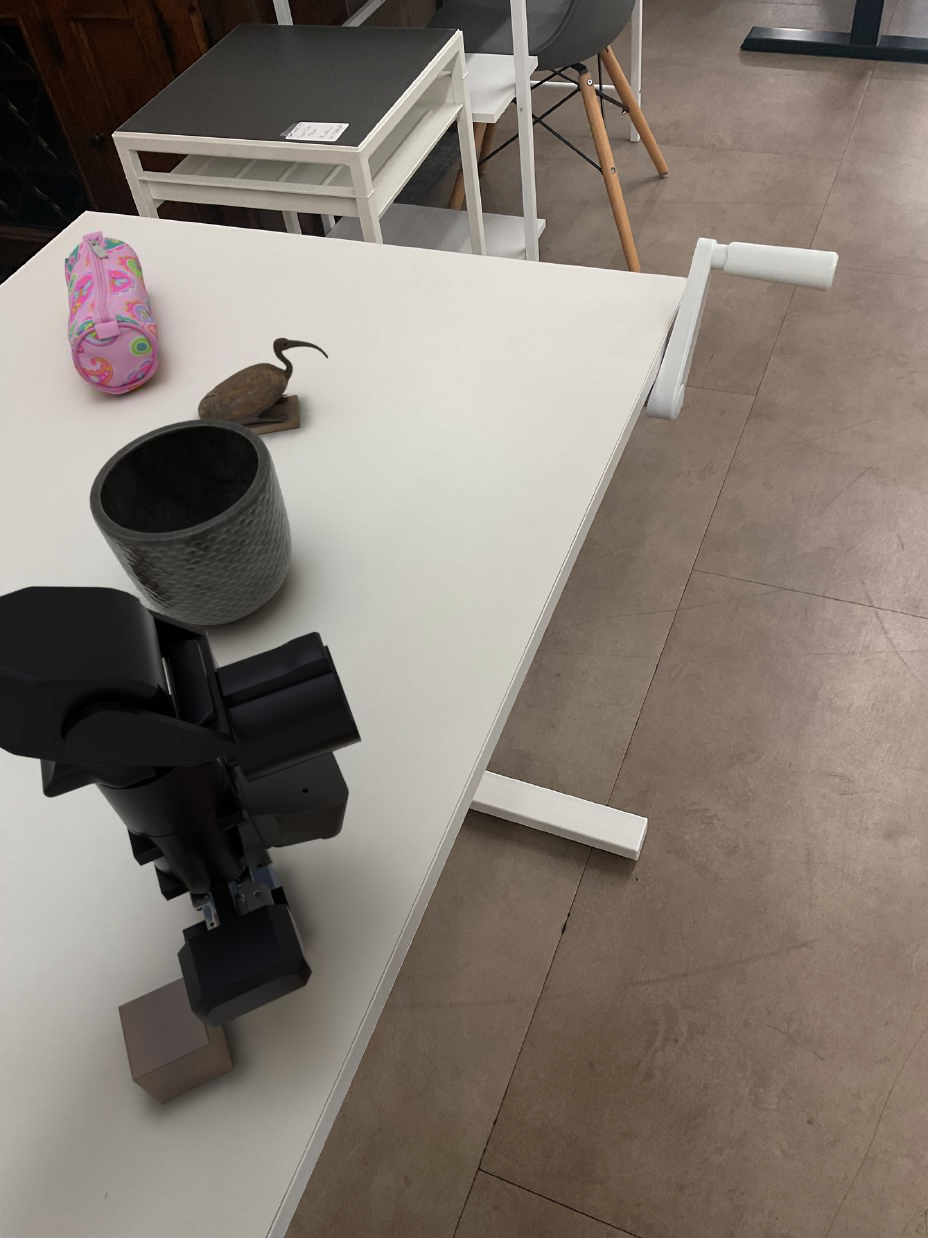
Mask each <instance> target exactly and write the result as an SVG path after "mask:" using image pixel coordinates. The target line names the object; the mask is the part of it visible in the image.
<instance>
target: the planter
mask: <svg viewBox="0 0 928 1238" xmlns="http://www.w3.org/2000/svg"><path fill="white" fill-rule="evenodd" d="M280 485H281V484H280V481H279V478H278V473H277V471H276V467H275V464H274V460H273V457H272V455H271V452H270V450H269V448H268V447H267V445H266V443H265V441H264V440H263V439H262V438H261V437H260V436H259V434H256V433H254V432H253V431H252V430H250V429H249V428H247V427H244V426H242V425H240V424H237V423H233V422H230V421H223V420H216V419H200V418H199V419H190V420H184V421H178V422H174V423H170V424H167V425H164V426H161V427H159V428H155V429H153V430H151V431H149V432H146V433H144V434H142V435H140V436H138V437H137V438H135V439H133V440H132V441H129V442H128V443H127V444H125V445H124V446H123V447H121V448H120V449H118V450H117V451H116V452H115V453H114V454H113V455H111V457H110V458H109V459H108V460H107V461H106V462H105V463H104V465H102V467H101V468H100V469H99V471H98V473H97V474H96V475H95V478H94V480H93V483H92V485H91V487H90V493H89V509H90V512H91V515H92V518H93V522H94V523H95V525H96V527H97V528H98V530H99V531H100V534H101V535H102V537H103V538H104V540H105V542H106V544H107V545H108V547H109V548H110V550H111V551H112V553H113V555H114V556H115V558H116V559H117V561H118V563H119V565H120V566H121V567H122V569H123V570H124V572H125V573H126V575H127V576H128V578H129V579H130V581H131V582H132V584H133V585H134V586H135V588H136V590H137V591H138V592H140V594H141V595H142V596H143V597H144V598H145V600H146V601H148V602H149V604H151V606H153V608H155V609H156V610H158V611H159V613H161V614H164V615H166V616H169V617H171V618H174V619H177V620H179V621H182V622H185V623H187V624H190V625H193V626H225V625H226V626H227V625H232V624H235V623H239V622H241V621H244V620H245V619H247V618H249V617H251V616H253V615H254V614H256V613H257V612H259V611H260V610H261V609H262V608H263V607H264V606H265V605H266V604H267V603H268V602H269V601H270V600H271V599H272V598H273V597H274V596H275V594H276V593H277V592H278V591H279V590H280V588H281V586H282V584H283V583H284V581H285V580H286V578H287V574H288V571H289V569H290V566H291V561H292V552H293V551H292V549H293V547H292V546H293V545H292V543H293V541H292V532H291V526H290V521H289V516H288V513H287V508H286V504H285V501H284V495H283V493H282V488H281V486H280Z"/></svg>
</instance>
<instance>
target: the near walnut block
mask: <svg viewBox="0 0 928 1238" xmlns="http://www.w3.org/2000/svg"><path fill="white" fill-rule="evenodd" d="M117 1009H118V1015H119V1019H120V1023H121V1030H122V1034H123V1041H124V1044H125V1049H126V1054H127V1059H128V1064H129V1069H130V1074H131V1080H132V1082H134V1083H135V1084H136V1085H137V1086H139V1087H140V1089H142V1090H143V1091H144V1092H145V1093H147V1094H148V1095H149V1096H150V1097H151V1098H153V1099H154V1100H156V1102H157V1103H159V1104H160V1105H162V1104H164V1103H166V1102H168V1101H170V1100H173V1099H174V1098H176V1097H179V1096H180V1095H183V1094H185V1093H187V1092H190V1091H191V1090H193V1089H195V1088H197V1087H199V1086H201V1085H204V1084H206V1083H207V1082H210V1081H212V1080H214V1079H216V1078H218V1077H220V1076H222V1075H224V1074H227V1073H228V1072H231V1071H233V1070H234V1065H233V1061H232V1058H231V1053H230V1050H229V1047H228V1043H227V1039H226V1036H225V1032H224V1028H223V1025H221V1026H218V1027H216V1028H214V1027H211V1026H209V1025H206V1024H204V1023H202V1022H201V1021H200V1020H199V1019H198V1017H197V1016H196V1015H195V1014H194V1013H193V1012H192V1011H191V1007H190V1003H189V999H188V995H187V991H186V987H185V983H184V979H183V977H181V978H178V979H176V980H174V981H172V982H169V983H167V984H165V985H163V986H160V987H159V988H156V989H154V990H152V991H150V992H148V993H145V994H143V995H140V996H139V997H136V998H135V999H133V1000H130V1001H128V1002H126V1003H123V1004H121V1005H119V1006H118V1007H117Z"/></svg>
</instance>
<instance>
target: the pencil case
mask: <svg viewBox="0 0 928 1238" xmlns="http://www.w3.org/2000/svg"><path fill="white" fill-rule="evenodd" d="M64 278H65V284H66V287H67V293H68V294H67V295H68V296H67V298H68V307H69V315H68V323H67V340H68V342H69V345H70V349H71V359H72V362H73V365H74V368H75V370H76V372H77V373H78V374H79V376H80V377H81V378H82V380H83V381H85V382H86V383H87V384H88V385H89V386H91V387H93V388H95V389H96V390H98V391H102V392H105V393H108V394H112V395H122V394H125V393H128V392H131V391H133V390H135V389H136V388H139V387H140V386H142V385H144V384H145V383H146V382H148V381H149V380H150V379H151V378H152V376H154V374H155V373H156V371H157V369H158V366H159V362H160V357H161V356H160V347H159V344H158V335H159V334H158V332H159V331H158V327H157V323H156V321H155V318H154V317H153V315H152V309H151V302H150V299H149V295H148V292H147V288H146V284H145V279H144V275H143V269H142V265H141V262H140V259H139V256H138V254H137V252H136V251H135V250H134V249H133V247H132V246H130V244H128V243H126V242H125V241H123V240H120V239H117V238H112V237H108V236H105V237H104V235H103V231H95V232H90V233H86V234H84V235H82V241H81V242H80V243H79V244H77V245H76V246H75V248H74V249H73V250H72V251H71V252H70V254H69V256H68V257H66V258H65V259H64Z"/></svg>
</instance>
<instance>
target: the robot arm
mask: <svg viewBox="0 0 928 1238" xmlns="http://www.w3.org/2000/svg"><path fill="white" fill-rule="evenodd" d="M361 742H362V738H361V735H360V731H359V728H358V726H357V723H356V720H355V717H354V714H353V712H352V709H351V706H350V703H349V701H348V698H347V695H346V693H345V690H344V687H343V684H342V681H341V679H340V676H339V673H338V671H337V668H336V665H335V662H334V660H333V656H332V653H331V651H330V649H329V646H328V644H326V645H324V642H323V638H322V636H321V634H320V632H318V631H311V632H308V633H306V634H303V635H299V636H297V637H295V638H292V639H290V640H288V641H287V642H284V643H283V644H281V645H279V646H277V647H274V648H271V649H268V650H266V651H263V652H260V653H257V654H254V655H252V656H248V657H246V658H243V659H240V660H236V661H235V662H231V663H228V664H225V665H222V666H220V665H219V663H218V661H217V659H216V657H215V655H214V653H213V650H212V644H211V641H210V638H209V634H208V631H207V630H206V629H203V628H201V627H197V626H196V625H193V624H189V623H185V622H182V621H179V620H177V619H174V618H171V617H169V616H167V615H165V614H163V613H162V612H158V611H156V610H153V609H150V608H147V607H145V605H143V603H142V602H141V599H140V598H139V597H137V596H136V595H134V594H132V593H130V592H128V591H125V590H122V589H118V588H114V587H106V586H65V585H64V586H59V585H58V586H55V585H51V586H50V585H48V586H47V585H32V586H26V587H23V588H19V589H16V590H13V591H11V592H8V593H5V594H2V595H0V749H2V750H3V751H5V752H7V753H9V754H11V755H14V756H17V757H23V758H30V759H35V760H39V763H40V774H41V785H42V786H41V787H42V794H43V795H44V797H46V798H49V799H50V798H51V799H52V798H56V797H59V796H62V795H64V794H67V793H69V792H73V791H76V790H78V789H81V788H84V787H88V786H90V785H95V786H96V788H97V789H98V790H99V791H100V793H101V794H102V795H103V797H104V798H105V800H106V801H107V802H108V803H109V805H110V806H111V808H112V809H113V810H114V813H116V814H117V816H118V817H119V819H120V820H121V821H122V822H123V824H124V825H125V826H126V830H127V834H128V838H129V839H128V840H129V843H130V847H131V848H130V849H131V850H132V856H133V858H134V860H135V861H136V862H137V864H138V865H139V866H140V867H142V866H145V865H148V864H149V863H152V864H153V866H154V870H155V874H156V878H157V882H158V886H159V891H160V893H161V895H162V896H163V898H164V900H166V902H169V901H171V900H173V899H176V898H178V897H181V896H182V895H185V894H187V893H188V894H189V897H190V902H191V905H192V908H193V909H194V910H195V911H196V912H201V911H203V909H205V908H208V907H209V906H210V905H211V904H212V901H211V900H209V899H210V898H211V897H210V895H209V894H207V893H208V892H211V895H212V898H213V902H214V905H212V906H210V907H211V911H212V916H210V917H208V918H207V919H204V920H201V921H199V922H197V923H195V924H192V925H190V926H188V927H185V928H183V929H182V931H181V932H182V935H183V939H184V944H183V945H182V947H180V949H179V951H178V952H177V953H176V954H177V958H178V963H179V967H180V971H181V974H182V978H183V979H184V983H185V987H186V991H187V995H188V999H189V1003H190V1007H191V1011H192V1012H193V1013H194V1014H195V1015H196V1016H197V1017H198V1019H199V1020H200V1021H201V1022H202V1023H204V1024H206V1025H209V1026H211V1027H214V1028H216V1027H218V1026H221V1025H222V1026H223V1025H225V1024H227V1023H229V1022H231V1021H233V1020H235V1019H238V1018H240V1017H242V1016H244V1015H246V1014H248V1013H250V1012H252V1011H255V1010H257V1009H259V1008H261V1007H264V1006H266V1005H268V1004H270V1003H272V1002H274V1001H276V1000H278V999H280V998H283V997H285V996H287V995H289V994H291V993H294V992H295V991H298V990H299V989H302V988H304V987H306V986H307V984H308V982H309V980H310V978H311V976H312V974H313V970H312V967H311V966H312V965H311V964H310V960H309V958H308V955H307V951H306V948H305V946H304V942H303V940H302V937H301V934H300V930H299V929H298V926H297V924H296V922H295V919H294V916H293V914H292V913H293V912H292V910H291V908H290V905H289V902H288V899H287V896H286V895H287V894H286V893H285V890H284V887H283V885H282V886H280V887H278V888H275V889H273V890H271V891H270V890H269V888H268V886H267V885H266V884H264V883H256V882H254V880H253V877H252V874H251V871H255V870H258V869H260V868H262V867H265V866H267V865H269V864H271V865H272V864H274V863H273V862H274V861H273V859H272V856H271V854H270V850H269V849H271V848H276V849H277V848H278V849H280V848H286V847H290V846H294V845H299V844H304V843H307V842H312V841H317V840H320V839H321V840H324V841H325V840H329V839H332V838H335V837H337V836H338V835H340V833H341V832H342V829H343V825H344V820H345V815H346V810H347V805H348V800H349V797H350V796H349V795H350V790H349V786H348V785H347V782H346V780H345V777H344V775H343V772H342V769H341V768H340V766H339V763H338V762H337V759H336V756H335V754H334V752H336V751H339V750H341V749H344V748H347V747H349V746H352V745H355V744H358V743H361ZM233 881H234V882H235V883H236V884H235V886H236V888H237V889H238V888H239V889H238V890H237V893H238V894H236V895H235V893H234V890H233V887H232V883H231V882H233Z"/></svg>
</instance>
